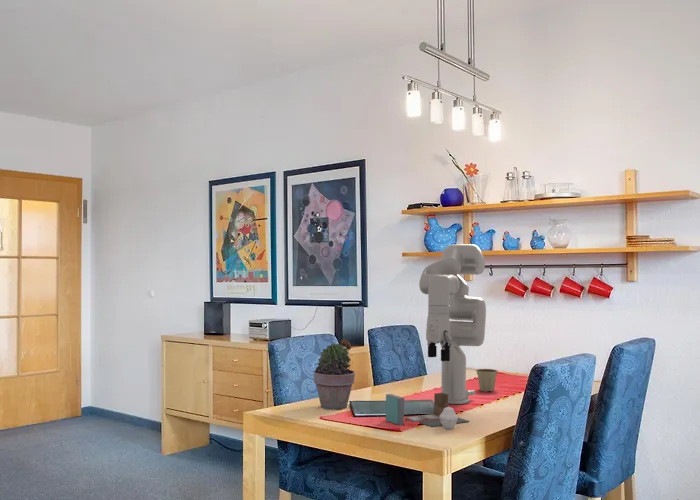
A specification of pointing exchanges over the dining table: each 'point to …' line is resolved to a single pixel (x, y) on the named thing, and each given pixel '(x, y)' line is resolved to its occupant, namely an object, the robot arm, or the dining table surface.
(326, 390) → the potted plant
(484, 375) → the flower pot
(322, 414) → the dining table surface
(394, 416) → the tile
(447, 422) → the muffin
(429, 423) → the mat
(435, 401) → the turner
